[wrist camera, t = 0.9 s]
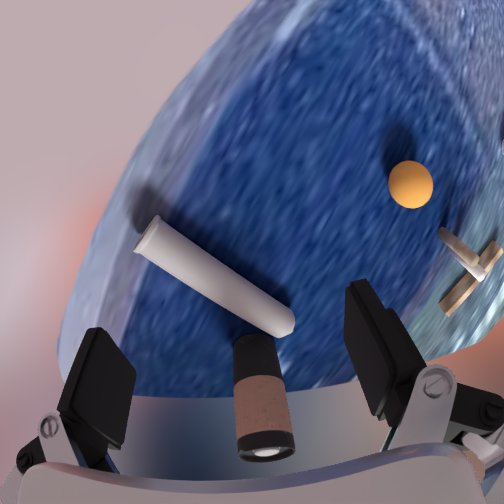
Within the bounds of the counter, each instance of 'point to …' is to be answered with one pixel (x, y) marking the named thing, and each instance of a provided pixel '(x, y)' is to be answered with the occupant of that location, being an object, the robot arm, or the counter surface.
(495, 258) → the rail
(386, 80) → the counter surface
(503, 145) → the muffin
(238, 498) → the robot arm
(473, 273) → the white pin
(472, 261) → the birch pin
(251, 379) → the travel mug
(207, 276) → the tube
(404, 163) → the ball
